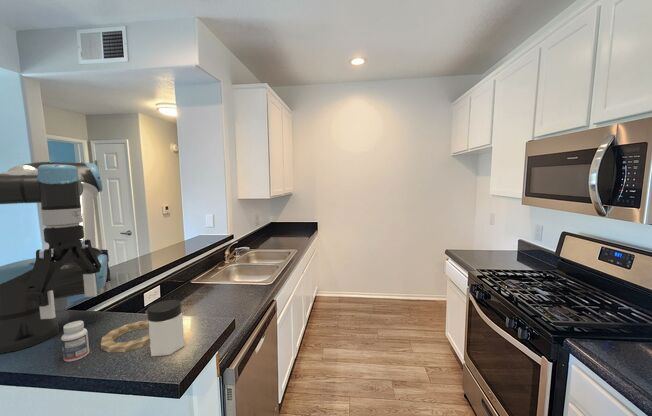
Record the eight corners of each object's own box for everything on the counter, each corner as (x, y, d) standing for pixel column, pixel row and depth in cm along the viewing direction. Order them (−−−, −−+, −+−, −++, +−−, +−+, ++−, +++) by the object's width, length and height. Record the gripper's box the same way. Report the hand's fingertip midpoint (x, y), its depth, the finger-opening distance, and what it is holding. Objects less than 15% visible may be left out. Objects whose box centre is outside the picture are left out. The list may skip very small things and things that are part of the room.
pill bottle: (68, 353, 76) (65, 321, 76) (92, 348, 79) (89, 317, 78) (59, 364, 72) (55, 330, 71) (85, 359, 74) (82, 326, 73)
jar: (190, 338, 82) (187, 298, 82) (178, 355, 74) (175, 311, 73) (157, 340, 82) (154, 300, 81) (142, 358, 74) (138, 313, 73)
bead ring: (87, 354, 76) (87, 348, 76) (123, 326, 91) (123, 321, 91) (146, 350, 77) (146, 345, 77) (172, 323, 92) (172, 319, 92)
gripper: (32, 232, 60) (43, 328, 62) (112, 219, 85) (118, 288, 86) (-6, 234, 60) (6, 331, 61) (85, 220, 84) (92, 289, 86)
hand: (71, 306), depth 74 cm, fingers open, 13 cm apart
